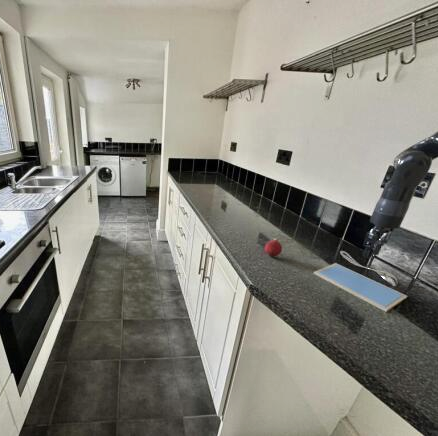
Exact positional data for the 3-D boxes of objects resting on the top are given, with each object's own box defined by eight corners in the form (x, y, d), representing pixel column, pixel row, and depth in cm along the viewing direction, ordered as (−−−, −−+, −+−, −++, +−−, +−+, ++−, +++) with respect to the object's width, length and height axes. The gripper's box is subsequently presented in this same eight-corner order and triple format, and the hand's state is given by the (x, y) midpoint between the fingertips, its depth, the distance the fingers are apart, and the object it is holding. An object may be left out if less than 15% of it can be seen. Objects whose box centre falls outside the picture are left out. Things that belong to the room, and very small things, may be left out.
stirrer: (338, 246, 93) (348, 246, 94) (334, 254, 94) (344, 253, 95) (393, 280, 75) (405, 279, 76) (388, 288, 77) (399, 287, 77)
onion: (274, 262, 88) (279, 243, 85) (260, 255, 92) (264, 237, 89) (281, 257, 91) (287, 239, 88) (267, 251, 95) (272, 234, 92)
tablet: (334, 264, 88) (335, 262, 87) (406, 298, 71) (408, 295, 71) (313, 273, 82) (314, 271, 82) (386, 312, 65) (387, 309, 65)
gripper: (394, 218, 71) (373, 265, 78) (413, 212, 77) (392, 256, 84) (365, 211, 77) (347, 254, 84) (384, 205, 83) (367, 247, 90)
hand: (370, 255), depth 84 cm, fingers open, 5 cm apart
